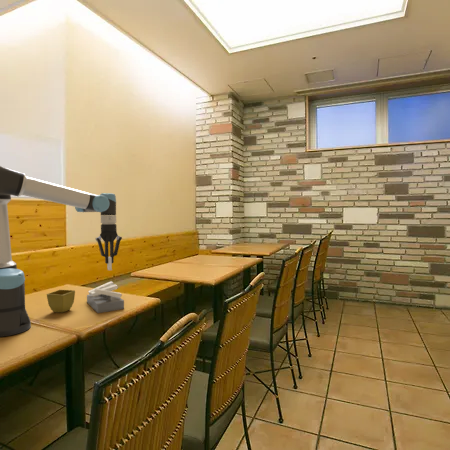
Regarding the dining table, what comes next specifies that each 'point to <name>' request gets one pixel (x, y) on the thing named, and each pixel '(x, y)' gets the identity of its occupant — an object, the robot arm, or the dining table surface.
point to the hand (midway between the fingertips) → (109, 269)
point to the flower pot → (61, 300)
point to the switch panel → (105, 303)
